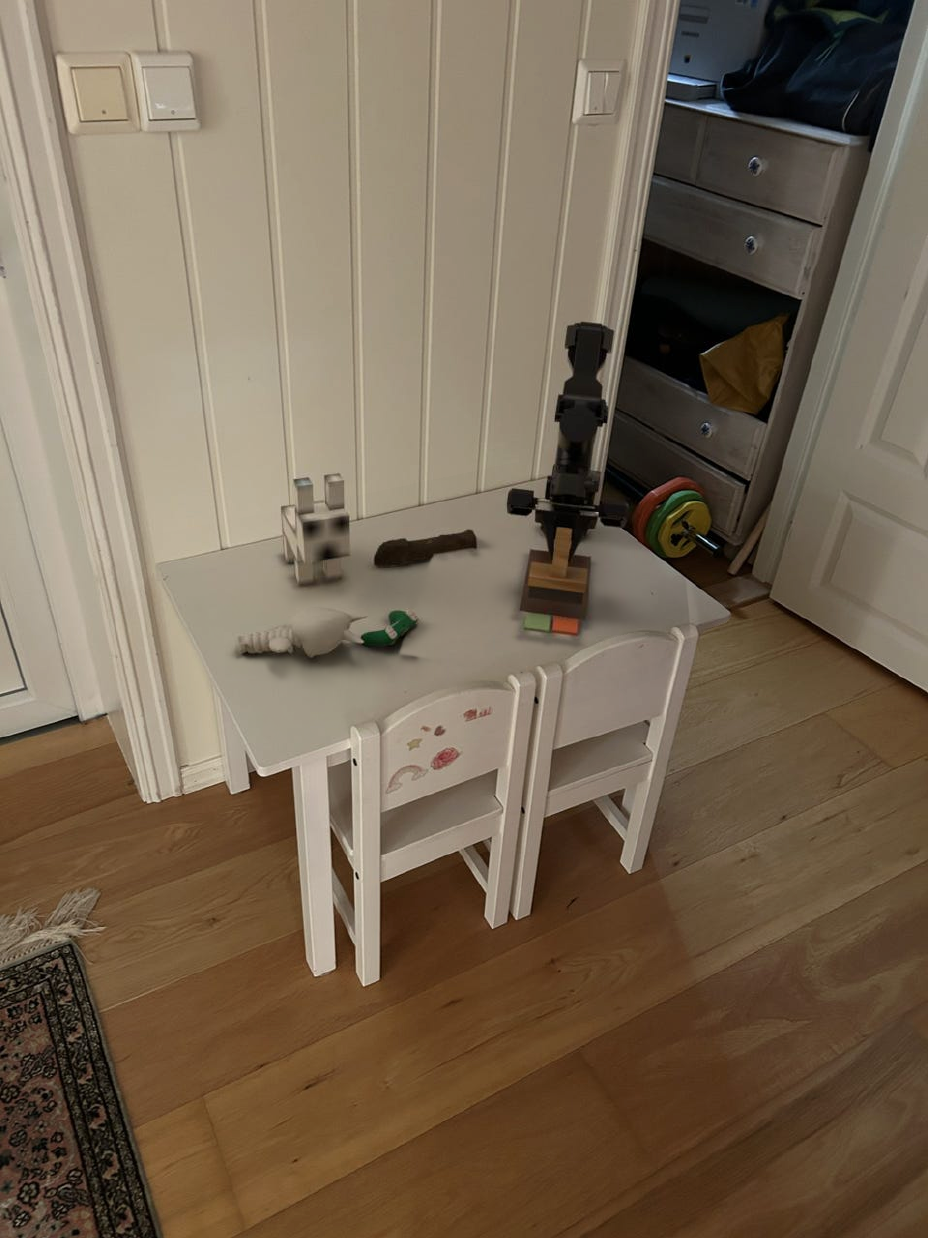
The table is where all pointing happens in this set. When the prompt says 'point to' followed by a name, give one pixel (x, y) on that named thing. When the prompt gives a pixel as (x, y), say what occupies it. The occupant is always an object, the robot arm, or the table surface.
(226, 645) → the table surface
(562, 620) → the clay terracotta
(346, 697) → the table surface
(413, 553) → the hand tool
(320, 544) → the white blocky toy rabbit
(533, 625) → the clay sage
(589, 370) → the robot arm
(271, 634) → the toy creature
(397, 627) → the green stocking
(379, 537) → the table surface
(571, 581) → the brush
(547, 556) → the board
